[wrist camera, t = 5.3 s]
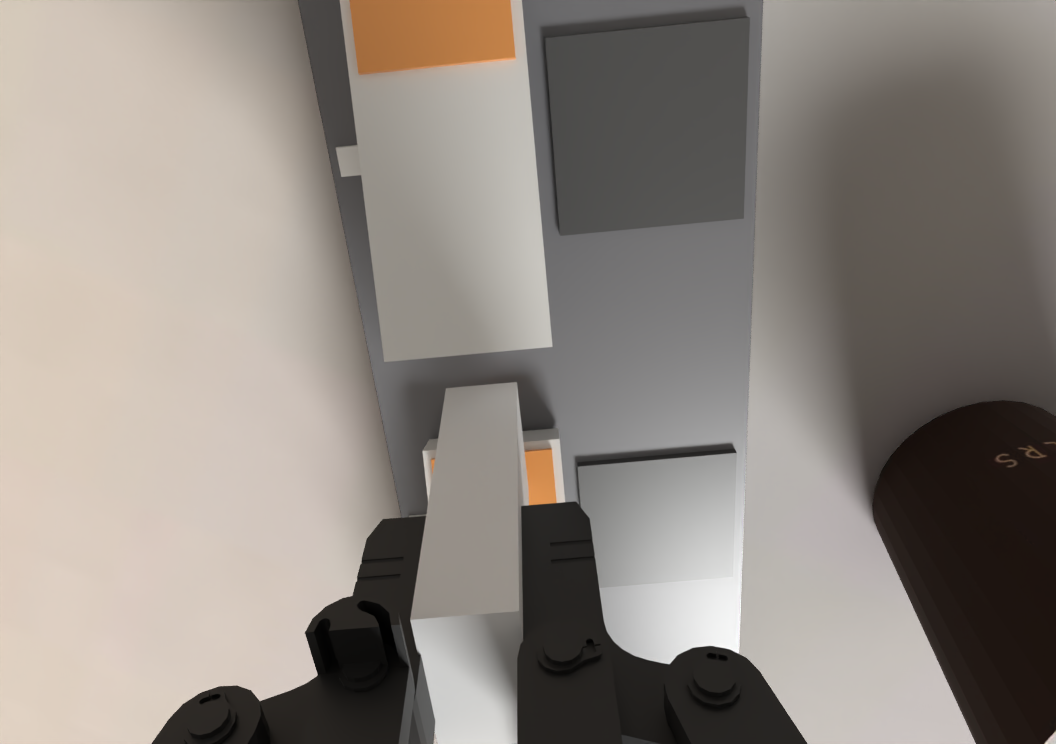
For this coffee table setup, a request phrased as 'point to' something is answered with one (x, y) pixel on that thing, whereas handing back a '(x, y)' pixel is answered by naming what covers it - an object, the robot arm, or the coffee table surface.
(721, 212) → the power strip
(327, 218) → the coffee table surface
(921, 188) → the coffee table surface
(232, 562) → the coffee table surface
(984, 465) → the coffee mug
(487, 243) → the block
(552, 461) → the rocker
